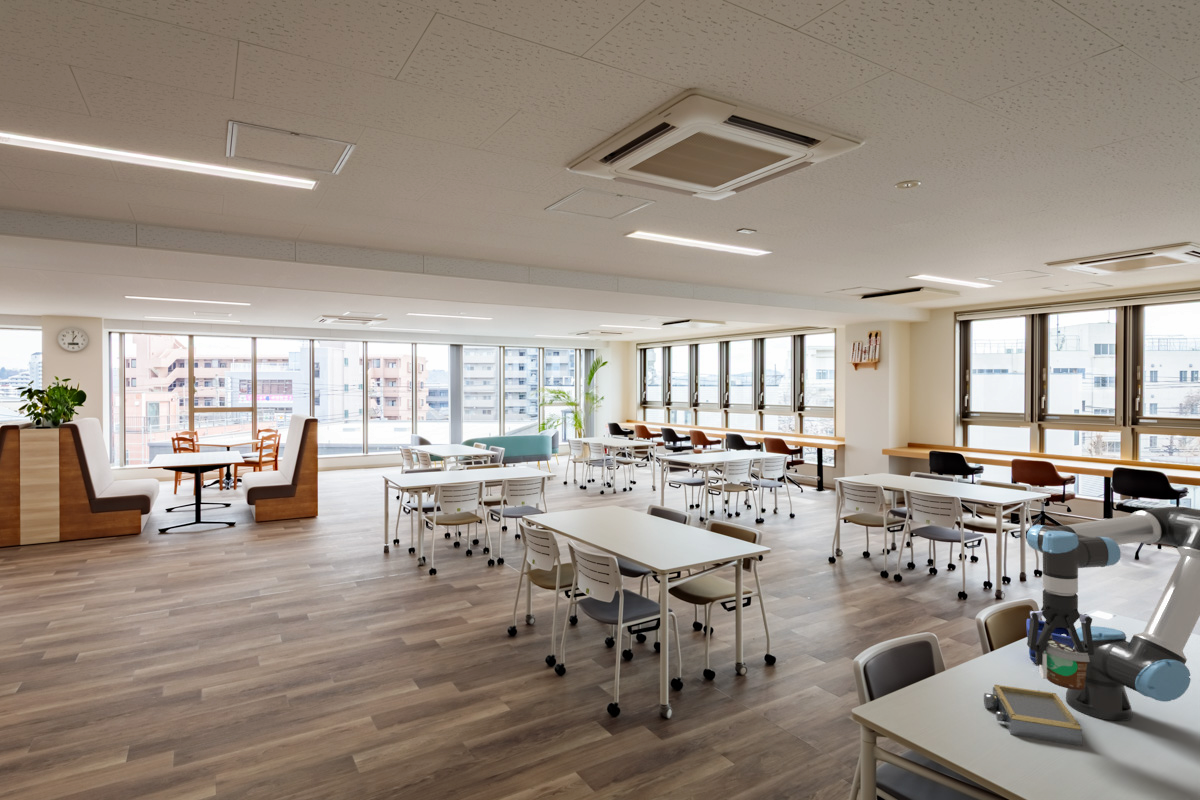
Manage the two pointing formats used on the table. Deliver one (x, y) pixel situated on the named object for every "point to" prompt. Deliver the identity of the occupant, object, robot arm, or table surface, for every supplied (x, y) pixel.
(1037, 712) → the grey flat box
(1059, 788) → the table surface
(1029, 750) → the table surface
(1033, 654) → the flower pot
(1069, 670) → the food container
